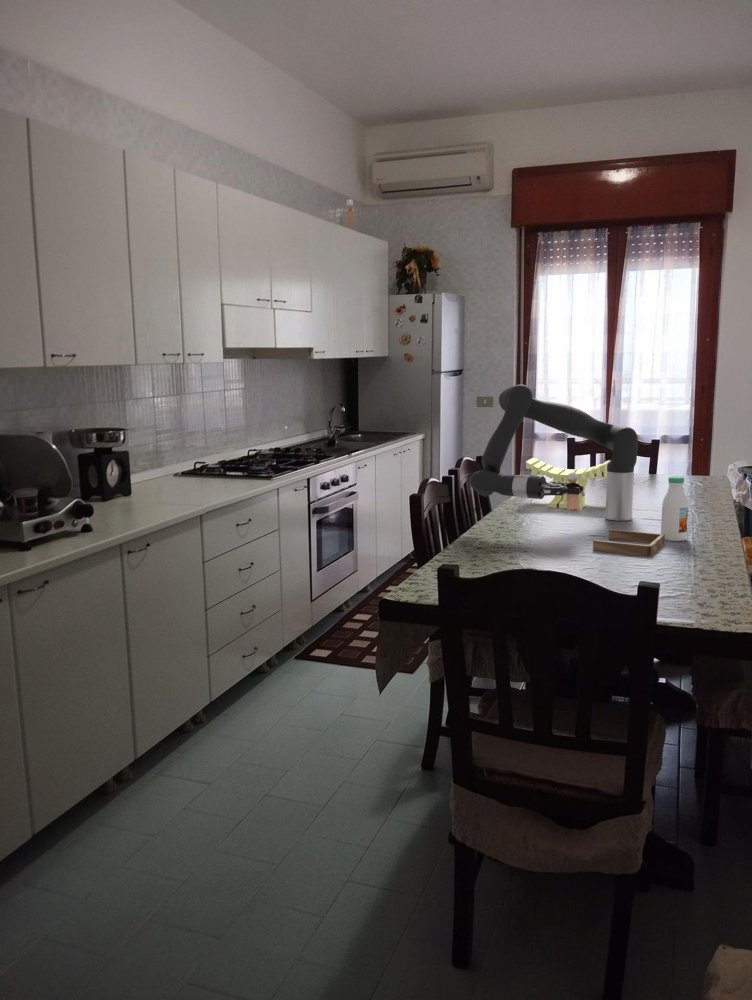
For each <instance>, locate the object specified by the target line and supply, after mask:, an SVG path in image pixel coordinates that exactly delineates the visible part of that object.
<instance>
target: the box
mask: <svg viewBox="0 0 752 1000" xmlns="http://www.w3.org/2000/svg"><path fill="white" fill-rule="evenodd" d="M608 539H609V540H616V541H608V540H607V541H606V540H597V539H593V540H592V551H597V552H598V551H599V552H607V553H615V554H616V553H617V554H623V555H624V554H625V555H634V556H643V557H652V555H654V554H655V553H656V552H657V551H658V550H660V549H661V548H662V547H663V546H664V545H665V541H666V540H665V534H661V533H655V532H643V531H633V530H632V531H631V530H621V529H608ZM617 540H619V541H625V542H617ZM626 542H627V543H626ZM628 542H637V543H646V544H647V543H648V544H647V545H646V544H637V543H628Z"/></svg>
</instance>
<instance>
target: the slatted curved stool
mask: <svg viewBox="0 0 752 1000" xmlns="http://www.w3.org/2000/svg"><path fill="white" fill-rule="evenodd" d="M610 461H611V459H609V460H605V462H604V463H603V462H602V463H600V464H597V465H594V466H590V467H587V468H579V469H570V468H567V469H566V468H563V467H562V468H561V467H558V466H554V465H552V464H547V462H544V461H542V460H541V461H540V459H539V458H536V457H532V458H529V459H528V460H526V461H525V469H527V470H531V475H535V476H544V477H547V478H549V479H552V481H555V482H558V481H560V482H566V483H570V482H569V480H568V479H567V476H568V474H569V473H571V472H575V473H577V475H578V478H577V481H576V482H575V483H577V484H579V485H580V486H583V491H584V493H585V494H586V490H587V487H588V484H589V481H591V480H592V479H594V478H597V479H598V478H600V479H601V478H603V479H605V480H607V464H608V463H609V462H610ZM586 505H587V500H586V495H585V496H582V494H581V493H580V494H579V509H580V510H582V509H583V508H584V507H585V506H586ZM547 507H551V508H550V509H563V508H567V495H564V494H563V495H562V496H561V495H554V498H553V499H552V500H551V501H550V502H549V503H548V506H547Z"/></svg>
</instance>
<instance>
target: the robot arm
mask: <svg viewBox="0 0 752 1000" xmlns="http://www.w3.org/2000/svg"><path fill="white" fill-rule="evenodd" d="M498 404H499V406H500V408H501V409H502V410H503V411H504V414H503V416H502V419H501V420H500V422H499V424H498V426H497V428H496V429H495V431H494V432H493V434H492V435H491V436H490V439H489V440H488V442H487V444H486V447H485V449H484V451H483V452H484V453H483V454H482V457H481V464H482V470H476V471H475V472H473V473H472V474H471V475H470V477H469V484H470V487H471V488H472V490H474V492H476V493H477V494H479V495H480V496H482V497H489V496H492V494H494V493H497V494H500V495H501V496H505V497H506V496H507V497H517V498H524V499H535V500H543V499H544V497H545V496H546V497H547V496H555V495H561V496H562V495H563V494H564V495H567V493H568V494H574V495H579V494H580V493H581V492H580V488H579V487H568V488H567V486H564V485H566V484H569V483H566V482H560V481H558V482H555V481H553V480H551V481H549V482H547V479H546V476H545V475H544V476H543V475H537V476H535V475H532V474H531V475H530V474H519V475H518V474H503V473H501V468H502V465H503V462H504V460H505V458H506V455H507V453H508V450H509V447H510V445H511V442H512V441H513V438H514V436H515V434H516V432H517V430H518V428H519V426H520V424H521V422H522V421H523V419H524V418H526V419H529V420H532V421H535V422H538V423H540V424H542V425H545V426H547V427H550V428H552V429H555V430H557V431H559V432H562V433H564V434H568V435H571V436H575V437H578V438H582V439H587V440H591V441H593V442H594V443H597V444H599V445H601V446H603V447H605V448H607V449H609V450H611V451H612V456H611V459H610V462H609V463H608V464H607V479H606V483H605V484H606V485H605V486H606V487H605V488H606V490H605V492H606V493H605V515H604V516H605V519H606V520H610V521H620V522H623V521H630V520H632V519H633V508H634V507H633V505H634V500H633V499H634V479H635V478H634V476H635V475H634V473H635V466H636V463H637V460H638V448H639V447H638V445H639V439H638V438H639V437H638V434H637V432H636V430H635V429H634V428H631V427H628V426H623V425H617V424H613V423H612V424H611V423H608V422H604V421H601V420H598V419H597V418H594V417H593V416H592V415H590V414H588V413H587V412H585V411H583V410H581V409H579V408H576V407H573V406H571V405H569V404H566V403H560V402H554V401H546V400H541V399H537V398H535V397H533V392H532V390H531V388H530V387H528V386H527V385H525V384H516V385H513V386H510V387H507V388H505V389H504V390H503V391H501V393H500V394H499V397H498ZM581 487H582V489H583V486H581Z"/></svg>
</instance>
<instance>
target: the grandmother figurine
mask: <svg viewBox="0 0 752 1000" xmlns="http://www.w3.org/2000/svg"><path fill="white" fill-rule="evenodd" d="M577 478H578V475H577V473H575V472H571V473H569V474H568V476H567V479H568V480H569V482H570V483H569V484H566V485H564V486H567V488H568V487H579V488H580V492H581V494H582V496H585V497H586V492H585V493H584V491H583V489H582V487H581V486H580V485H579V484H577ZM575 482H576V483H575ZM581 511H582V509H579V495H574V494H568V493H567V509H566V512H567V513H573V512H574V513H580V512H581Z"/></svg>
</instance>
